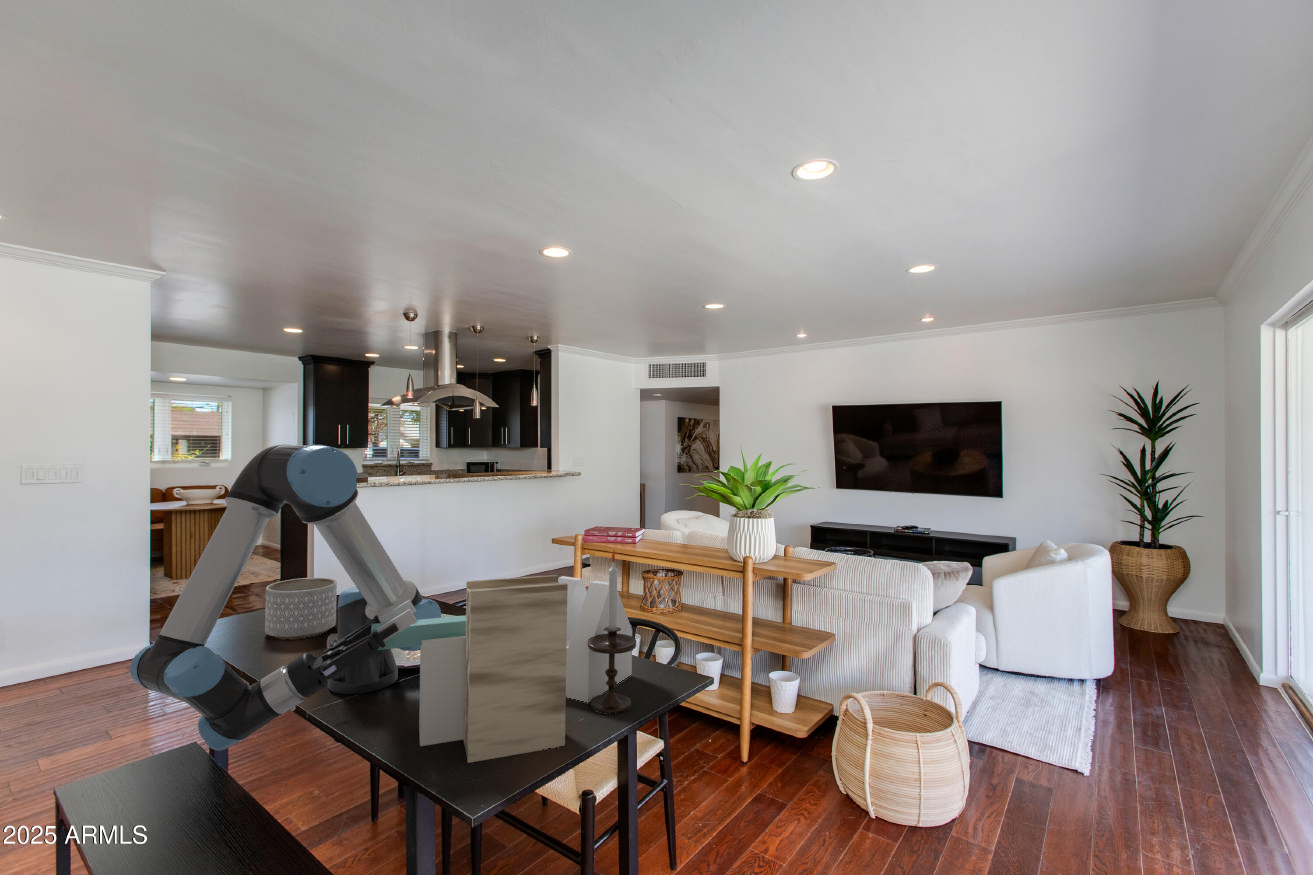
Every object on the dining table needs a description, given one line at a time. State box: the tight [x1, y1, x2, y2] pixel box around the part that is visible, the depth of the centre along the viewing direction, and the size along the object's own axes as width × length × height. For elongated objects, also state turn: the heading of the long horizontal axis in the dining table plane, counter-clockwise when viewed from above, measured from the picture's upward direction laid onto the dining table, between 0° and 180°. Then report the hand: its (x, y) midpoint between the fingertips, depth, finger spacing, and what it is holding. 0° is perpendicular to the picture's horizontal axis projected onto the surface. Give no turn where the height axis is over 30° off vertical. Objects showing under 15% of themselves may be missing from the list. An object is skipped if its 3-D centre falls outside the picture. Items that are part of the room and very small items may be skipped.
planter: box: [264, 577, 338, 640], centre depth 187 cm, size 19×19×14 cm
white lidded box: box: [418, 636, 466, 747], centre depth 126 cm, size 9×18×20 cm, turn 112°
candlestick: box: [588, 549, 637, 715], centre depth 138 cm, size 11×11×35 cm
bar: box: [371, 614, 466, 650], centre depth 125 cm, size 4×30×4 cm, turn 113°
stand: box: [463, 574, 568, 764], centre depth 120 cm, size 9×18×31 cm, turn 112°
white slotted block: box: [558, 575, 633, 704], centre depth 151 cm, size 19×15×25 cm
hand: (412, 610), depth 122 cm, fingers open, 7 cm apart
